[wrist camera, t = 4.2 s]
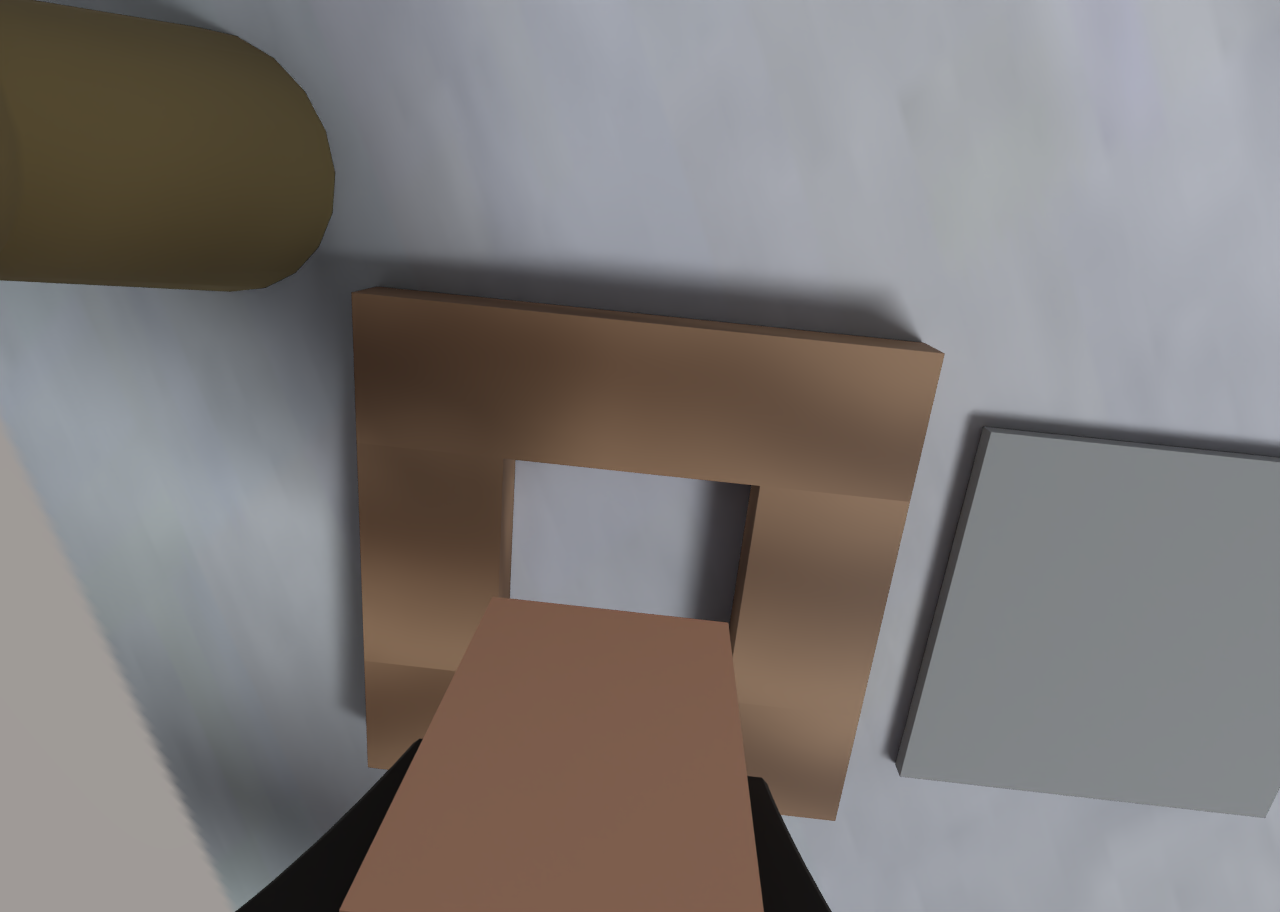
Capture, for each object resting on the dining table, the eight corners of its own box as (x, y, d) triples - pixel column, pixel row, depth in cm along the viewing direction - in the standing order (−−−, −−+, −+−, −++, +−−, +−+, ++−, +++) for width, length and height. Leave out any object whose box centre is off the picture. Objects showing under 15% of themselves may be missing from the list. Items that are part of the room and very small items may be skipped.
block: (699, 809, 15) (714, 1222, 9) (486, 784, 15) (352, 1177, 9) (727, 622, 14) (769, 961, 7) (492, 596, 14) (338, 909, 7)
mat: (1252, 805, 22) (1265, 818, 22) (895, 764, 22) (900, 776, 22) (1409, 471, 19) (1429, 478, 18) (983, 426, 19) (991, 432, 18)
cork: (42, 128, 18) (-886, 2, 7) (217, -32, 16) (-601, -468, 6) (211, 336, 19) (-353, 482, 9) (385, 204, 18) (-32, 189, 7)
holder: (824, 782, 23) (834, 820, 21) (387, 732, 23) (368, 767, 21) (923, 342, 18) (944, 353, 17) (376, 286, 18) (351, 292, 17)
